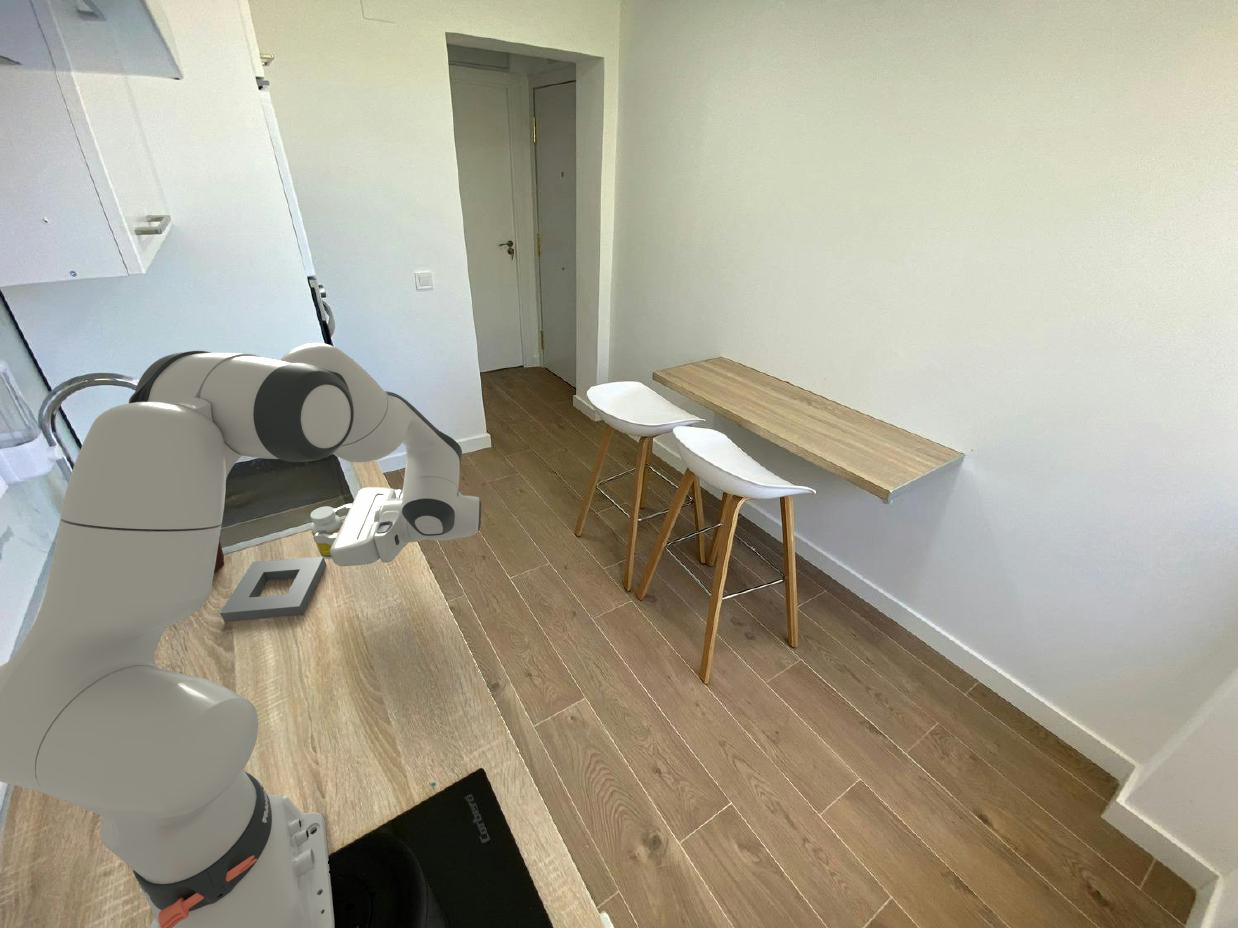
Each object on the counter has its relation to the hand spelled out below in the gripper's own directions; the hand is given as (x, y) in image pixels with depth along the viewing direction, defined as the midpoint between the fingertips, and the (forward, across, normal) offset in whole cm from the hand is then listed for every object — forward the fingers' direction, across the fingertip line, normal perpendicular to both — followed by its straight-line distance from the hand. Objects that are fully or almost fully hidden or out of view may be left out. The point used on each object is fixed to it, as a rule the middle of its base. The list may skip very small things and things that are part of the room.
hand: (321, 525), depth 96 cm
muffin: (+32, -9, +17) cm, 37 cm away
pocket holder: (+13, 0, +17) cm, 21 cm away
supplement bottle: (-1, 0, +7) cm, 7 cm away
